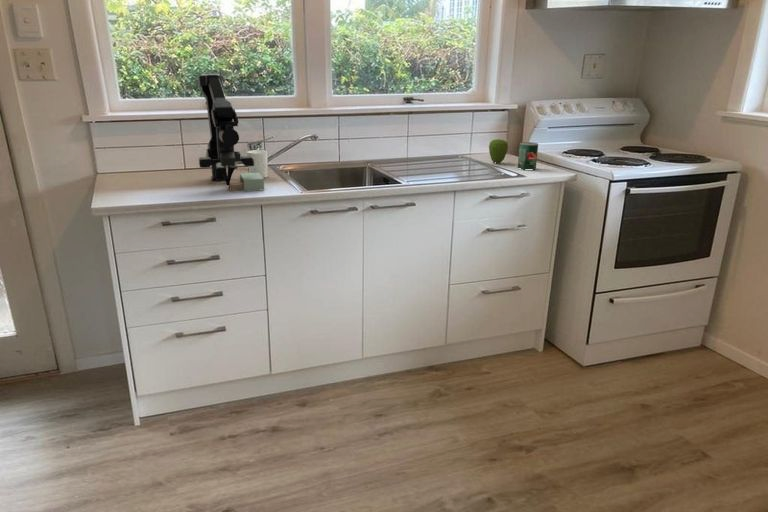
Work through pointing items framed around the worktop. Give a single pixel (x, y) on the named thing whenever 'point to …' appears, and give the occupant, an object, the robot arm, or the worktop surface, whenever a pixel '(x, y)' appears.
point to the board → (236, 185)
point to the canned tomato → (527, 155)
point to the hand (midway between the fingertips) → (227, 185)
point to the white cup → (259, 162)
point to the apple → (498, 150)
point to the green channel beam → (252, 181)
